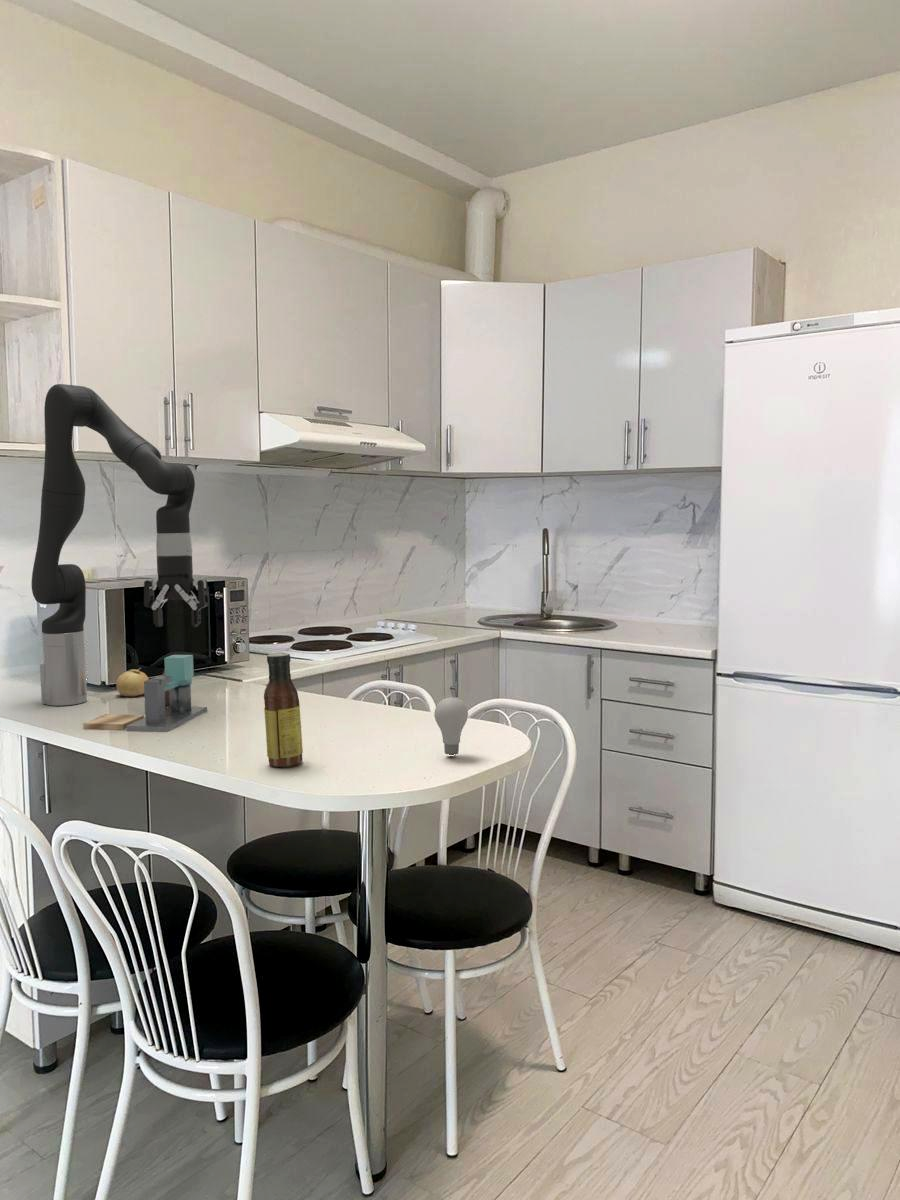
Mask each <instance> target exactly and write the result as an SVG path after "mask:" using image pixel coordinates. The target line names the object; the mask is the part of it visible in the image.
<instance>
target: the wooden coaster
mask: <svg viewBox="0 0 900 1200" xmlns="http://www.w3.org/2000/svg"><path fill="white" fill-rule="evenodd" d="M143 718H145V714H118V713H117V714H115V713H113V714H112V713H104V714H103V715H100V716H98V717H95V718H92V719H91V720H90V719H89V720H88V721H85V722H83V723H82V725H83V727H82V728H83V730H106V731H107V730H110V731H124V730H127V727H126V726H128V725H130V724H132V723H134V722H136V721H139V720H141V719H143Z"/></svg>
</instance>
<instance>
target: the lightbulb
mask: <svg viewBox="0 0 900 1200" xmlns="http://www.w3.org/2000/svg"><path fill="white" fill-rule="evenodd" d="M468 711H469V709H468V707H467V706H466V704H465V702H464V701H463V700H461V699H460V698H458V697H446V698H443V699H441V700H440V701H439V702H438V703H437V704H436V706H435V709H434V712H433V713H434V719H435V722H436V724H437V726H438V727H439V729H440V732H441V735H442V743H443V745H444V747H443V748H444V753H445V755H446V754H449V755H454V754H457V755H458V754H459V751H460V750H459V748H460V742H461V736H462V731H463V729H464V726H465V725H466V723H467V721H468V718H469V717H468V716H469V712H468Z"/></svg>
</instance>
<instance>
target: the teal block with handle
mask: <svg viewBox="0 0 900 1200" xmlns="http://www.w3.org/2000/svg"><path fill="white" fill-rule="evenodd" d="M163 661H164V671H165V676H171V677H172V682H170V683H167V684H165V685H164V692H165V691H167V690H170V689H172V688H174V687H177V686H184V685H189V684H191V685H192V683H193V678H194V675H195V674H194V655H193V654H171V655H169V656H165V657H164V660H163Z"/></svg>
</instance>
